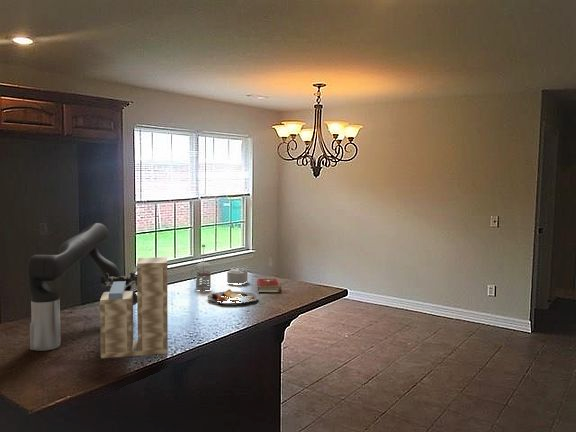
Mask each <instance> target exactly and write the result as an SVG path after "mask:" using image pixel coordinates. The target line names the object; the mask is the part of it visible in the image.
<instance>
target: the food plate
mask: <svg viewBox="0 0 576 432" xmlns="http://www.w3.org/2000/svg"><path fill="white" fill-rule="evenodd" d="M238 294H241V295H242V296H243V297H245V296H251V297H248V298H249V299H248V300H246V301H249V300H251V299H254V300H252V301H249V302H245V303H244V302H242V303H244V304H247V303H251V302H255V301H257V300H258V299H259V296H258V295H256V294H255V293H251V292H245V291H235V290H234V291H232V290H231V288H230V289H229V288H228V289H227V290H225V291H219V292H214V293H211V294H209V295H207V300H210V301H211V302H214V303H215V302H216V303H220V302H217V301H221V303H220V305H226V304H227V305H228V304H232V305H231V306H234V305H233V304H239V305H242V304H241V303H236V301H239V300H230V301H232V302H235V303H222V302H223V301H227V300H228V299H229V297H230V298H235V297H239V298H242V297H241V295H238ZM221 296H224V297H221ZM225 296H226V297H225ZM227 297H228V298H227ZM246 298H247V297H246ZM236 299H238V298H236ZM239 302H241V301H239ZM216 303H215V304H216Z"/></svg>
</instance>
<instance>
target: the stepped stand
mask: <svg viewBox="0 0 576 432" xmlns="http://www.w3.org/2000/svg"><path fill="white" fill-rule="evenodd" d="M136 277H137V286H136V289H137V290H136V292H137V293H136V294H137V303H136V304H137V309H136V310H137V317H136V318H137V340H134V305H133V291H134V290H133V291H125V292H124V295H123V299H109V292H110V291H104V292H103V293H102V294H101V297H100V300H99V317H100V318H99V321H100V323H99V328H100V334H99V335H100V359H108V358H122V357H137V356H138V357H139V356H151V355H165V354H166V355H167V354H169V353H168V352H169V351H168V350H169V349H168V343H169V342H168V341H169V340H168V338H169V337H168V334H169V333H168V332H169V329H168V328H169V327H168V325H169V323H168V313H169V312H168V257H167V256H166V257H163V256H162V257H139V258H137V261H136Z"/></svg>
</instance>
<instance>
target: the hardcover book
mask: <svg viewBox="0 0 576 432" xmlns="http://www.w3.org/2000/svg"><path fill="white" fill-rule="evenodd" d="M256 284H257V285H256V286H258V287H257V292H258V291H259V290H279V291H280V288H281V285H280V281H279V279H278V278H257V280H256Z"/></svg>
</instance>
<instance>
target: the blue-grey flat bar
mask: <svg viewBox="0 0 576 432" xmlns="http://www.w3.org/2000/svg"><path fill="white" fill-rule="evenodd" d="M125 288H126V281H117V282H113V284H112V287H111V289H109V291H108V292H109V299H123V295H124V292H125Z"/></svg>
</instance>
